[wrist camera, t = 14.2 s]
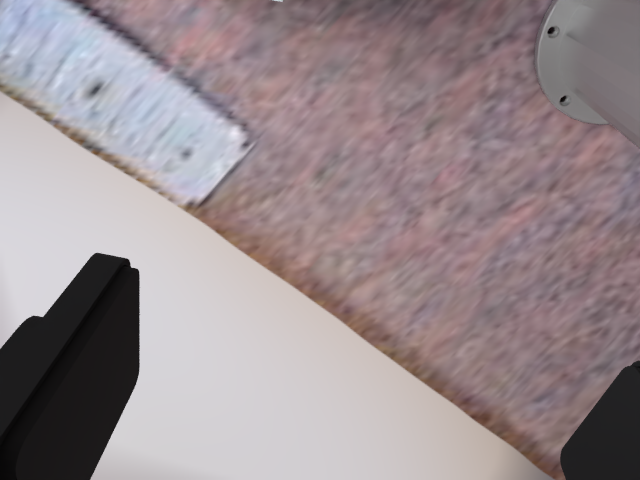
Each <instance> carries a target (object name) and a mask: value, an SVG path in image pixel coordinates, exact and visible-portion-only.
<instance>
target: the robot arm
mask: <svg viewBox="0 0 640 480" xmlns="http://www.w3.org/2000/svg"><path fill="white" fill-rule="evenodd" d="M550 27H553V31H552V32H551V33H547V31H548V30H549V28H550ZM534 65H535V70H536V75H537V80H538V82H539V84H540V87H541V89H542V91H543V93H544V94H545V95H546V97H547V98H548V99H549V101H550V102H551V103H552V104H553V105H554V106H555V107H556V108H557V109H558V110H559V111H561V112H562V113H564V114H566V115H567V116H569V117H570V118H573V119H576V120H578V121H581V122H584V123H590V124H597V125H604V124H611V125H612V126H613V127H614V128H615V129H617V130H618V131H619V132H620V133H621V134H623V135H624V136H625V137H626V138H627V139H629V140H630V141H631V142H632V143H633V144H635V145H636V146H637V147H638V148H639V149H640V0H553V2H552V3H551V5H550V7H549V9H548V10H547V12H546V14H545V15H544V18H543V21H542V23H541V26H540V28H539V31H538V34H537V39H536V44H535V57H534ZM563 96H565V98H564V99H563V100H560V99H561V97H563ZM138 375H139V271H138V269H135V268H131V266H130V262H129V260H128V259H125V258H121V257H116V256H111V255H106V254H101V253H95V254H94V255H93V256H92V257H91V258H90V259H89V260H88V261H87V263H86V264H85V265H84V266H83V268H82V269H81V270H80V272H79V273H78V274H77V275H76V277H75V278H74V279H73V280H72V282H71V283H70V284H69V285H68V287H67V288H66V289H65V291H64V292H63V293H62V294H61V295H60V297H59V298H58V299H57V300H56V302H55V303H54V304H53V306H52V307H51V308H50V309H49V310H48V312H47V313H46V314H45V315H44V317H39V316H32V317H30V318H28V319H26V320H25V321H24V322H23V323H22V324H21V325H20V327H18V329H17V330H16V331H15V332H14V333H13V334H12V336H11V337H10V338H9V339H8V340H7V342H6V343H5V344H4V345H3V346H2V348H1V349H0V480H90V479H91V476H92V474H93V473H94V470H95V468H96V466H97V464H98V462H99V460H100V458H101V456H102V454H103V452H104V450H105V448H106V446H107V443H108V441H109V439H110V437H111V435H112V433H113V431H114V429H115V427H116V425H117V423H118V421H119V419H120V416H121V414H122V412H123V410H124V408H125V406H126V404H127V402H128V400H129V398H130V396H131V394H132V392H133V389H134V387H135V385H136V382H137V378H138ZM560 461H561V467H562V470H563V472H564V475H565V478H566V480H640V361H636V362H634V363H633V364H632V365H631V366H627V367H625V368H624V369H623V370H622V371H621V372H620V373H619V375H618V376H617V377H616V379H615V380H614V381H613V383H612V384H611V385H610V387H609V388H608V389H607V390H606V392H605V393H604V394H603V396H602V397H601V398H600V400H599V401H598V402H597V404H596V405H595V406H594V408H593V409H592V410H591V411H590V413H589V414H588V415H587V417H586V418H585V419H584V421H583V422H582V423H581V425H580V426H579V427H578V429H577V430H576V431H575V432H574V434H573V435H572V436H571V438H570V439H569V440H568V442H567V443H566V444H565V446H564V447H563V449H562V451H561V457H560Z"/></svg>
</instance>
